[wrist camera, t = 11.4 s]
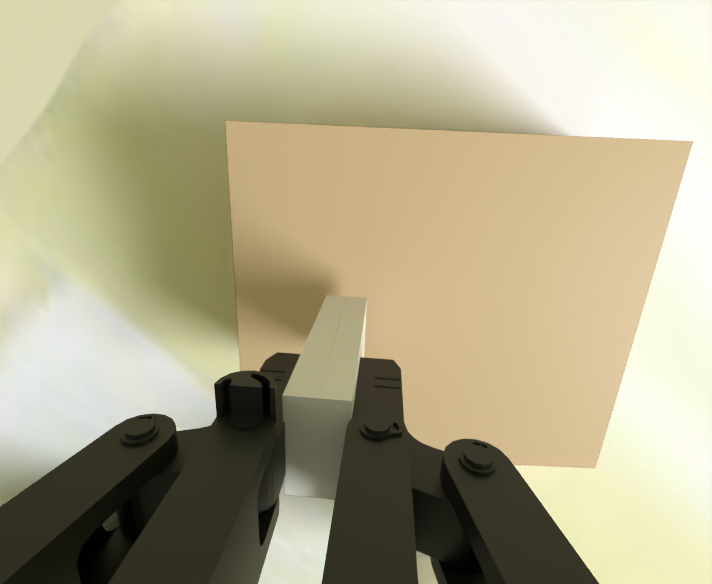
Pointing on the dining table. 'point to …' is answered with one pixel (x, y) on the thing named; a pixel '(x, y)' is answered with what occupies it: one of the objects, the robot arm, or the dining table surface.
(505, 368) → the lid
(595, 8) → the dining table surface
